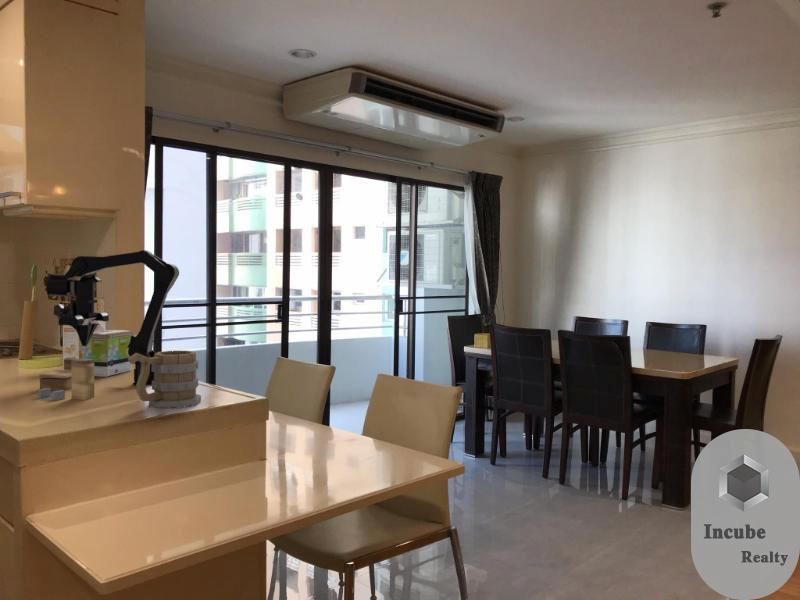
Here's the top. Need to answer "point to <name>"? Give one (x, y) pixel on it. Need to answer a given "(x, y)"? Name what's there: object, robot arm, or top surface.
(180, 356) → the tankard
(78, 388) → the wooden block
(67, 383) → the open wooden box
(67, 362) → the lid
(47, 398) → the grey rounded piece
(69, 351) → the coffeecake box
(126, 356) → the tea box
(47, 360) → the top surface
